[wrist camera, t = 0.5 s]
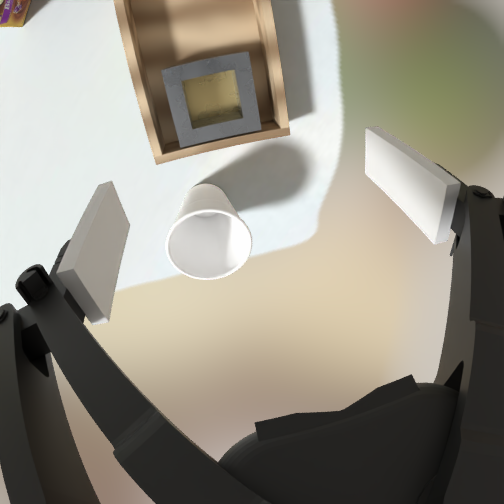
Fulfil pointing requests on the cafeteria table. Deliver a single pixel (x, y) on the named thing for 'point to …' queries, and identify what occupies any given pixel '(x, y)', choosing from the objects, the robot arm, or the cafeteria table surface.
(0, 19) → the candy box
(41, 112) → the cafeteria table surface
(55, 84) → the cafeteria table surface
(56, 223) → the cafeteria table surface
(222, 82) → the frame
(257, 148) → the cafeteria table surface
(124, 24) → the tray
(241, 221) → the cup
